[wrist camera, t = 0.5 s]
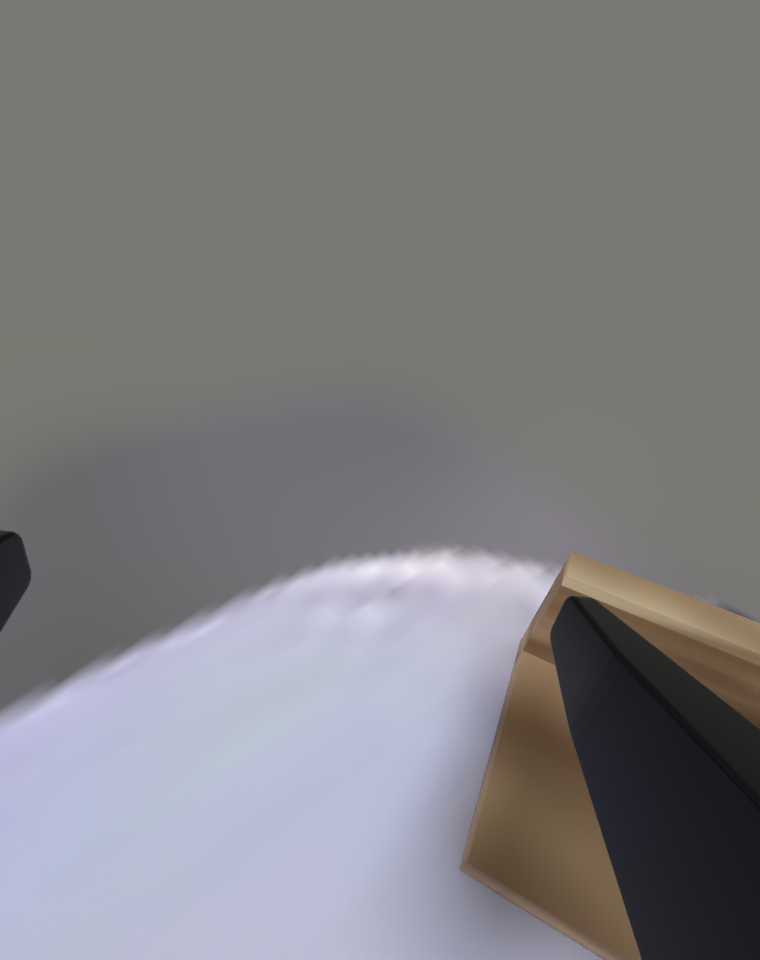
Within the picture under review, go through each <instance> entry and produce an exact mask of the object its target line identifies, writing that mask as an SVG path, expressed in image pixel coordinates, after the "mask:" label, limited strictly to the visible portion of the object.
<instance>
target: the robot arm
mask: <svg viewBox="0 0 760 960" xmlns="http://www.w3.org/2000/svg"><path fill="white" fill-rule="evenodd" d="M30 581H31V569H30V565H29V562H28V559H27V555H26V551H25V548H24V544H23V541H22V538H21V537H20V536H19V535H18V534H17V533H15V532H12V531H4V530H0V632H1V631H2V629H3V628H4V626H5V624H6V623H7V621H8V619H9V618H10V616H11V614H12V613H13V611H14V610H15V608H16V606H17V605H18V603H19V601H20V600H21V598H22V597H23V595H24V593H25V592H26V590H27V588H28V586H29V584H30ZM550 642H551V648H552V652H553V657H554V662H555V667H556V671H557V676H558V681H559V686H560V691H561V695H562V700H563V705H564V710H565V714H566V719H567V723H568V727H569V731H570V734H571V738H572V741H573V744H574V748H575V751H576V754H577V757H578V760H579V763H580V767H581V770H582V773H583V776H584V779H585V782H586V786H587V789H588V792H589V795H590V798H591V801H592V805H593V808H594V811H595V814H596V817H597V820H598V824H599V827H600V830H601V833H602V836H603V839H604V843H605V846H606V849H607V852H608V855H609V858H610V862H611V865H612V868H613V871H614V874H615V877H616V881H617V884H618V887H619V890H620V893H621V896H622V900H623V903H624V906H625V909H626V912H627V915H628V919H629V922H630V925H631V928H632V931H633V934H634V938H635V941H636V944H637V947H638V950H639V953H640V957H641V960H760V729H759V728H758V727H757V726H755V725H754V724H753V723H752V722H750V721H749V720H748V719H747V718H745V717H744V716H743V715H741V714H740V713H739V712H738V711H736V710H735V709H734V708H733V707H731V706H730V705H729V704H727V703H726V702H725V701H724V700H722V699H721V698H720V697H719V696H717V695H716V694H715V693H713V692H712V691H711V690H710V689H708V688H707V687H706V686H705V685H703V684H702V683H701V682H699V681H698V680H697V679H696V678H694V677H693V676H692V675H691V674H689V673H688V672H687V671H685V670H684V669H683V668H682V667H680V666H679V665H678V664H677V663H675V662H674V661H673V660H671V659H670V658H669V657H668V656H666V655H665V654H664V653H663V652H661V651H660V650H659V649H657V648H656V647H655V646H654V645H652V644H651V643H650V642H649V641H647V640H646V639H645V638H643V637H642V636H641V635H640V634H638V633H637V632H636V631H635V630H633V629H632V628H631V627H629V626H628V625H627V624H626V623H624V622H623V621H622V620H621V619H619V618H618V617H617V616H615V615H614V614H613V613H612V612H610V611H609V610H608V609H607V608H605V607H604V606H603V605H601V604H600V603H599V602H598V601H596V600H595V599H593V598H590V597H582V596H574V595H573V596H569V597H567V598H566V599H565V601H564V602H563V604H562V607H561V609H560V611H559V613H558V615H557V617H556V619H555V621H554V623H553V625H552V628H551V632H550Z"/></svg>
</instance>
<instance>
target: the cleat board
mask: <svg viewBox="0 0 760 960" xmlns="http://www.w3.org/2000/svg"><path fill="white" fill-rule="evenodd" d="M573 595H574V596H582V597H590V598H593V599H595V600H596V601H598V602H599V603H600V604H601V605H603V606H604V607H605V608H607V609H608V610H609V611H610V612H612V613H613V614H614V615H615V616H617V617H618V618H619V619H621V620H622V621H623V622H624V623H626V624H627V625H628V626H629V627H631V628H632V629H633V630H635V631H636V632H637V633H638V634H640V635H641V636H642V637H643V638H645V639H646V640H647V641H649V642H650V643H651V644H652V645H654V646H655V647H656V648H657V649H659V650H660V651H661V652H663V653H664V654H665V655H666V656H668V657H669V658H670V659H671V660H673V661H674V662H675V663H677V664H678V665H679V666H680V667H682V668H683V669H684V670H685V671H687V672H688V673H689V674H691V675H692V676H693V677H694V678H696V679H697V680H698V681H699V682H701V683H702V684H703V685H705V686H706V687H707V688H708V689H710V690H711V691H712V692H713V693H715V694H716V695H717V696H719V697H720V698H721V699H722V700H724V701H725V702H726V703H727V704H729V705H730V706H731V707H733V708H734V709H735V710H736V711H738V712H739V713H740V714H741V715H743V716H744V717H745V718H747V719H748V720H749V721H750V722H752V723H753V724H754V725H755V726H757V727H758V728H759V729H760V623H758V622H755V621H752V620H750V619H747V618H745V617H742V616H739V615H737V614H734V613H732V612H729V611H726V610H724V609H721V608H719V607H716V606H713V605H711V604H708V603H706V602H703V601H700V600H698V599H695V598H693V597H690V596H687V595H685V594H682V593H679V592H677V591H674V590H672V589H669V588H667V587H664V586H661V585H659V584H656V583H654V582H651V581H648V580H646V579H643V578H640V577H638V576H635V575H633V574H630V573H628V572H625V571H622V570H620V569H617V568H615V567H612V566H609V565H606V564H604V563H601V562H599V561H596V560H594V559H591V558H589V557H586V556H583V555H581V554H578V553H575V552H573V551H572V552H571V554H570V555H569V557H568V559H567V561H566V562H565V564H564V566H563V568H562V569H561V571H560V573H559V575H558V576H557V578H556V580H555V582H554V583H553V585H552V587H551V589H550V590H549V592H548V594H547V596H546V597H545V599H544V601H543V603H542V604H541V606H540V608H539V610H538V611H537V613H536V615H535V617H534V618H533V620H532V622H531V624H530V625H529V627H528V629H527V631H526V632H525V634H524V636H523V638H522V639H521V641H520V645H519V649H518V652H517V656H516V660H515V664H514V667H513V671H512V675H511V679H510V682H509V686H508V690H507V694H506V697H505V701H504V705H503V709H502V712H501V716H500V720H499V724H498V727H497V731H496V735H495V738H494V742H493V746H492V750H491V753H490V757H489V761H488V765H487V768H486V772H485V776H484V780H483V783H482V787H481V791H480V795H479V798H478V802H477V806H476V810H475V813H474V817H473V821H472V824H471V828H470V832H469V836H468V839H467V843H466V847H465V851H464V854H463V858H462V862H461V866H460V870H461V871H463V872H465V873H466V874H468V875H469V876H471V877H473V878H474V879H476V880H477V881H479V882H481V883H482V884H484V885H486V886H487V887H489V888H490V889H492V890H494V891H495V892H497V893H498V894H500V895H502V896H503V897H505V898H506V899H508V900H510V901H511V902H513V903H515V904H516V905H518V906H519V907H521V908H523V909H524V910H526V911H527V912H529V913H531V914H532V915H534V916H535V917H537V918H539V919H540V920H542V921H544V922H545V923H547V924H548V925H550V926H552V927H553V928H555V929H556V930H558V931H560V932H561V933H563V934H564V935H566V936H568V937H569V938H571V939H572V940H574V941H576V942H577V943H579V944H581V945H582V946H584V947H585V948H587V949H589V950H590V951H592V952H593V953H595V954H597V955H598V956H600V957H601V958H603V959H605V960H641V957H640V953H639V950H638V947H637V944H636V941H635V938H634V934H633V931H632V928H631V925H630V922H629V919H628V915H627V912H626V909H625V906H624V903H623V900H622V896H621V893H620V890H619V887H618V884H617V881H616V877H615V874H614V871H613V868H612V865H611V862H610V858H609V855H608V852H607V849H606V846H605V843H604V839H603V836H602V833H601V830H600V827H599V824H598V820H597V817H596V814H595V811H594V808H593V805H592V801H591V798H590V795H589V792H588V789H587V786H586V782H585V779H584V776H583V773H582V770H581V767H580V763H579V760H578V757H577V754H576V751H575V748H574V744H573V741H572V738H571V734H570V731H569V727H568V723H567V719H566V714H565V710H564V705H563V700H562V695H561V691H560V686H559V681H558V676H557V671H556V667H555V662H554V657H553V652H552V648H551V642H550V632H551V628H552V625H553V623H554V621H555V619H556V617H557V615H558V613H559V611H560V609H561V607H562V604H563V602H564V601H565V599H566V598H567V597H569V596H573Z"/></svg>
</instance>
